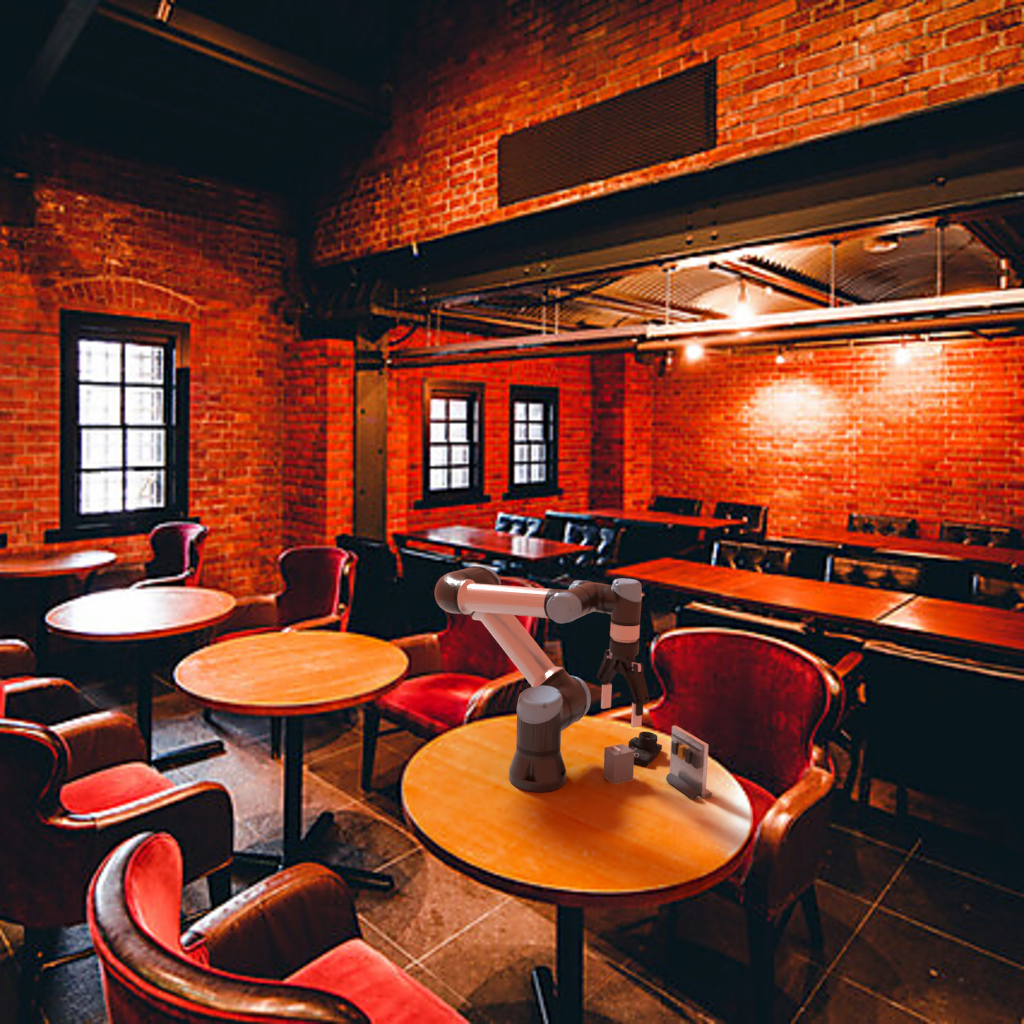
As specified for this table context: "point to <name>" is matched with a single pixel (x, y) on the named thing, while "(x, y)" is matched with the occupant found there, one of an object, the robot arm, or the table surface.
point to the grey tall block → (618, 763)
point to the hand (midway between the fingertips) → (620, 716)
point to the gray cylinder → (682, 786)
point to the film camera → (645, 748)
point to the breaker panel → (689, 760)
